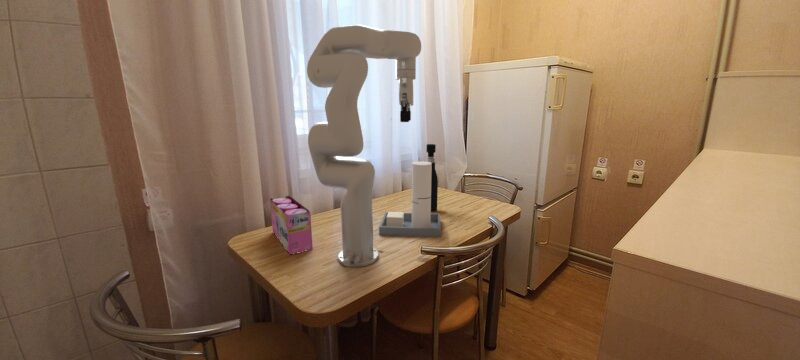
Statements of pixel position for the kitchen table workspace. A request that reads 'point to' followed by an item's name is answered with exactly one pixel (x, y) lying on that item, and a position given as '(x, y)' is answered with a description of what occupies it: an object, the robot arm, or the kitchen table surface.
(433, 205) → the wine bottle
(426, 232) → the tray
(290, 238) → the gum box
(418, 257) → the kitchen table surface
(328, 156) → the robot arm
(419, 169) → the cylindrical container
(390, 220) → the cream box
